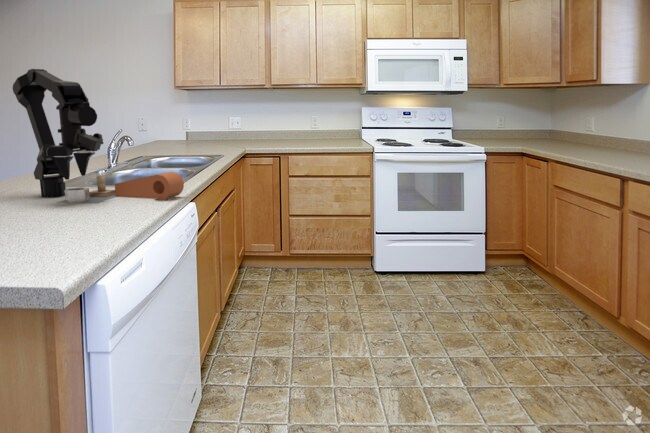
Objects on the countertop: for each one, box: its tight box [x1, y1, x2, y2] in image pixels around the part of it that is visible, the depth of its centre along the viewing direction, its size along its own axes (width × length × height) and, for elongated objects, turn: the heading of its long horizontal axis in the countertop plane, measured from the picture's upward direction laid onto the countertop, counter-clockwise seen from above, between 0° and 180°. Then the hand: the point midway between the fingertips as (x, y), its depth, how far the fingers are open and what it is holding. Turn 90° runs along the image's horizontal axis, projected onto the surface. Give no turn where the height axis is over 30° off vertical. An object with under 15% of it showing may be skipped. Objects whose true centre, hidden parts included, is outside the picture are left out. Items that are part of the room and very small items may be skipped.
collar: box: [64, 187, 90, 202], centre depth 175 cm, size 6×6×4 cm
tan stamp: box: [89, 174, 115, 197], centre depth 183 cm, size 6×6×6 cm
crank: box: [114, 171, 184, 201], centre depth 182 cm, size 20×8×8 cm, turn 73°
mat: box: [56, 195, 118, 204], centre depth 179 cm, size 13×17×1 cm
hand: (75, 177), depth 174 cm, fingers open, 9 cm apart
